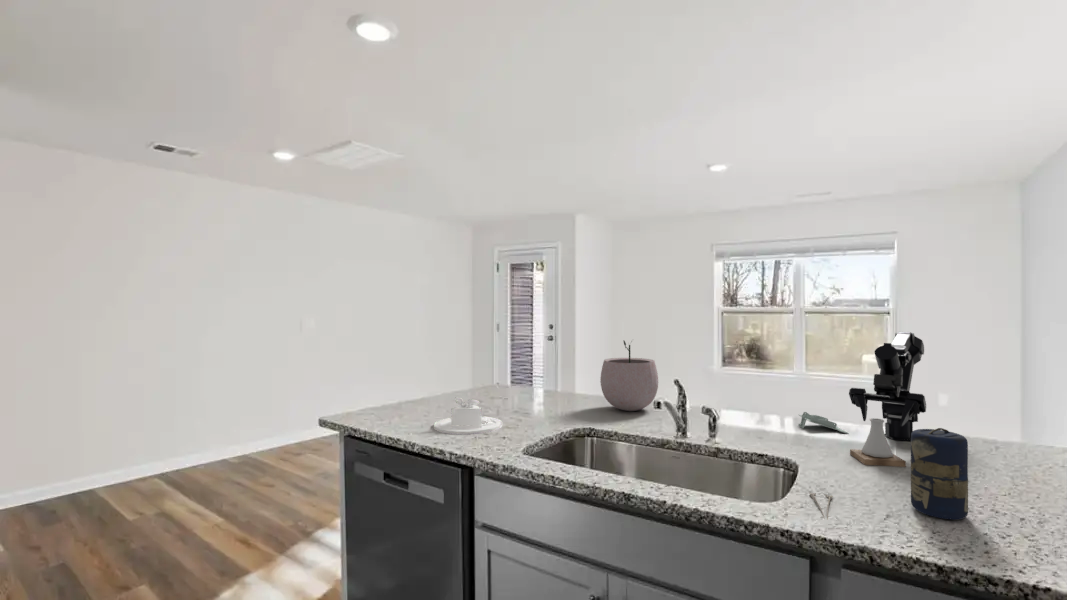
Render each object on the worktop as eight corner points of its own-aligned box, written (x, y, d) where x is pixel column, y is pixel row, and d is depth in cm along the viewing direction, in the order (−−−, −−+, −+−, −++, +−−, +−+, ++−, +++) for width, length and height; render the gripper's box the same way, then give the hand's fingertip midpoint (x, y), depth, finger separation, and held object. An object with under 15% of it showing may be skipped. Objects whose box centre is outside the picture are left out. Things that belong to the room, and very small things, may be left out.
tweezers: (808, 496, 120) (809, 488, 120) (832, 500, 118) (832, 491, 118) (814, 531, 104) (814, 521, 104) (841, 536, 102) (841, 526, 102)
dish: (499, 435, 177) (499, 402, 177) (426, 435, 178) (426, 402, 178) (504, 419, 202) (504, 390, 202) (440, 419, 202) (440, 390, 202)
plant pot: (654, 404, 228) (654, 336, 228) (662, 416, 204) (662, 340, 204) (599, 403, 230) (599, 336, 230) (601, 415, 206) (601, 340, 207)
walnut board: (888, 456, 149) (888, 450, 149) (905, 466, 140) (905, 461, 140) (850, 454, 151) (850, 449, 151) (864, 464, 142) (864, 459, 142)
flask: (879, 450, 150) (879, 416, 150) (899, 458, 142) (898, 421, 142) (856, 451, 149) (855, 416, 149) (874, 459, 142) (874, 422, 142)
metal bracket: (810, 416, 177) (795, 407, 192) (805, 432, 177) (790, 422, 192) (854, 429, 175) (835, 419, 190) (849, 446, 175) (830, 434, 190)
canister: (899, 505, 113) (898, 423, 113) (940, 504, 114) (939, 422, 114) (937, 524, 103) (936, 434, 104) (981, 522, 104) (980, 432, 104)
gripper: (849, 361, 161) (840, 402, 154) (924, 366, 148) (918, 411, 141) (856, 383, 167) (848, 423, 159) (928, 390, 154) (923, 434, 146)
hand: (882, 422), depth 151 cm, fingers open, 9 cm apart
